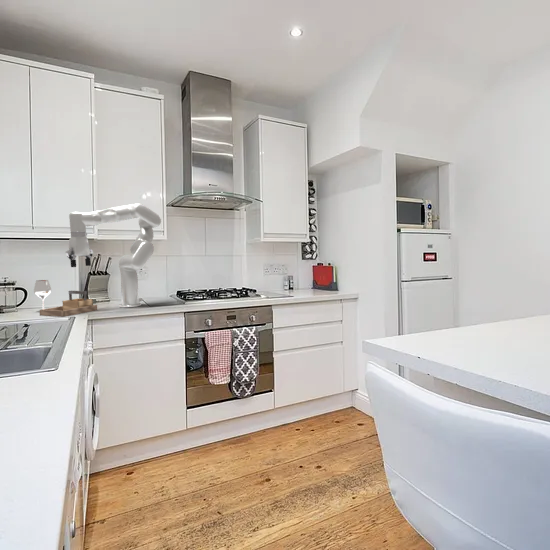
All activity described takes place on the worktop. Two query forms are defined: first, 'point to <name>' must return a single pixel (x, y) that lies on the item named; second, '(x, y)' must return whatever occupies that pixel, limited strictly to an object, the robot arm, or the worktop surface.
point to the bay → (66, 311)
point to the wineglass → (42, 289)
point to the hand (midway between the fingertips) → (81, 266)
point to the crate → (76, 301)
